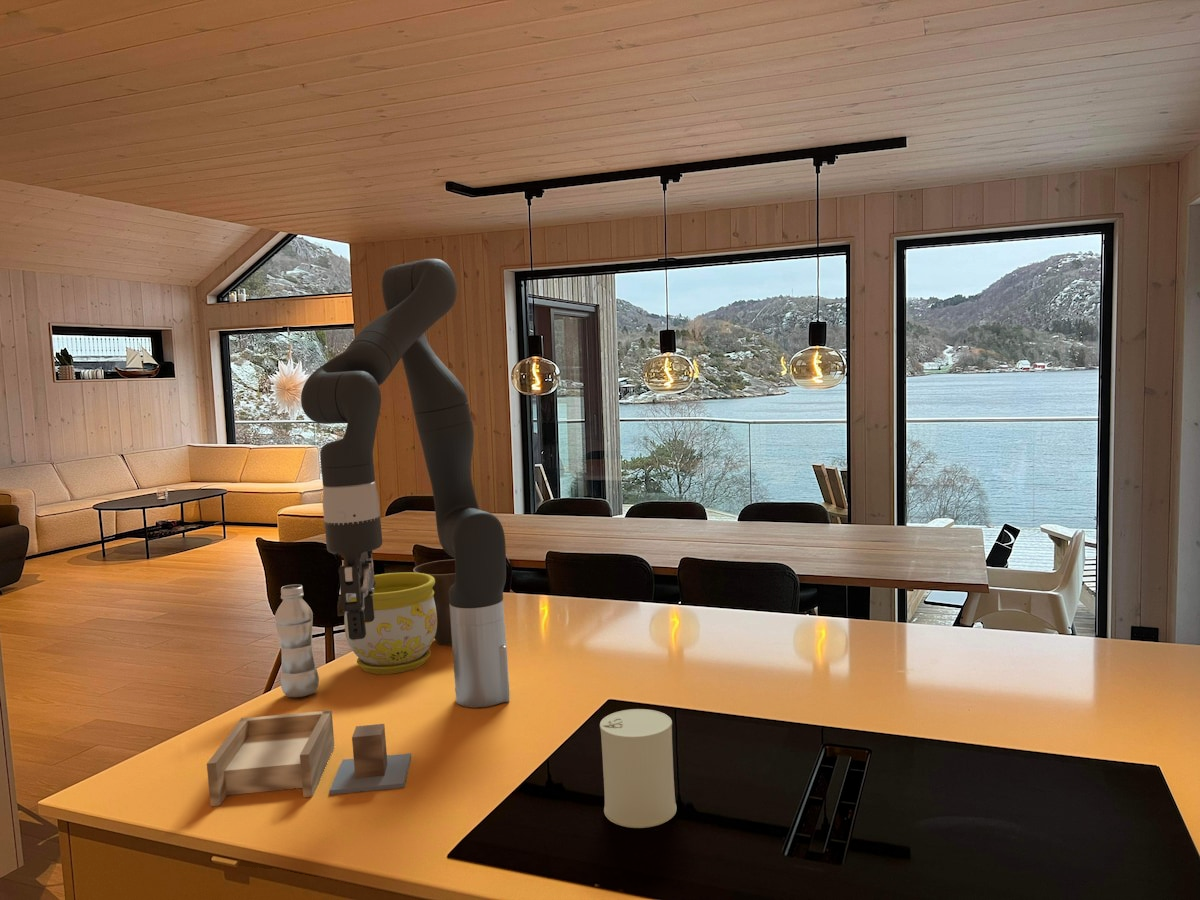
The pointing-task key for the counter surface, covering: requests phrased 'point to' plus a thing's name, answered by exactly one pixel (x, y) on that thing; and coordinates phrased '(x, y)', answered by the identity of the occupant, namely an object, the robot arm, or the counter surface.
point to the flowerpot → (397, 624)
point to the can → (638, 768)
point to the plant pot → (441, 595)
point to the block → (369, 751)
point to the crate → (272, 755)
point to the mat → (390, 780)
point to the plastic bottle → (296, 643)
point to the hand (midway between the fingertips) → (362, 629)
